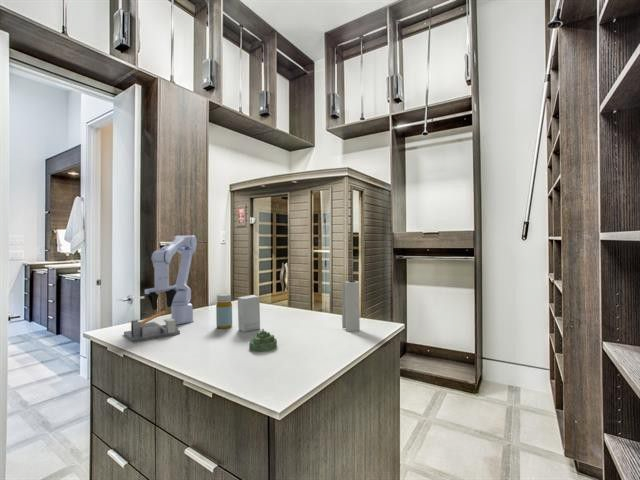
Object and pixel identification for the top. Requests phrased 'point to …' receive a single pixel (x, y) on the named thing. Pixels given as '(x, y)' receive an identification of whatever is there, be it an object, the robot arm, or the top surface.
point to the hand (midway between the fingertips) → (162, 308)
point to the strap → (152, 317)
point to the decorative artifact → (263, 342)
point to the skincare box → (248, 313)
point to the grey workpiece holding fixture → (147, 331)
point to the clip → (170, 325)
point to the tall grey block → (350, 306)
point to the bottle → (224, 311)
